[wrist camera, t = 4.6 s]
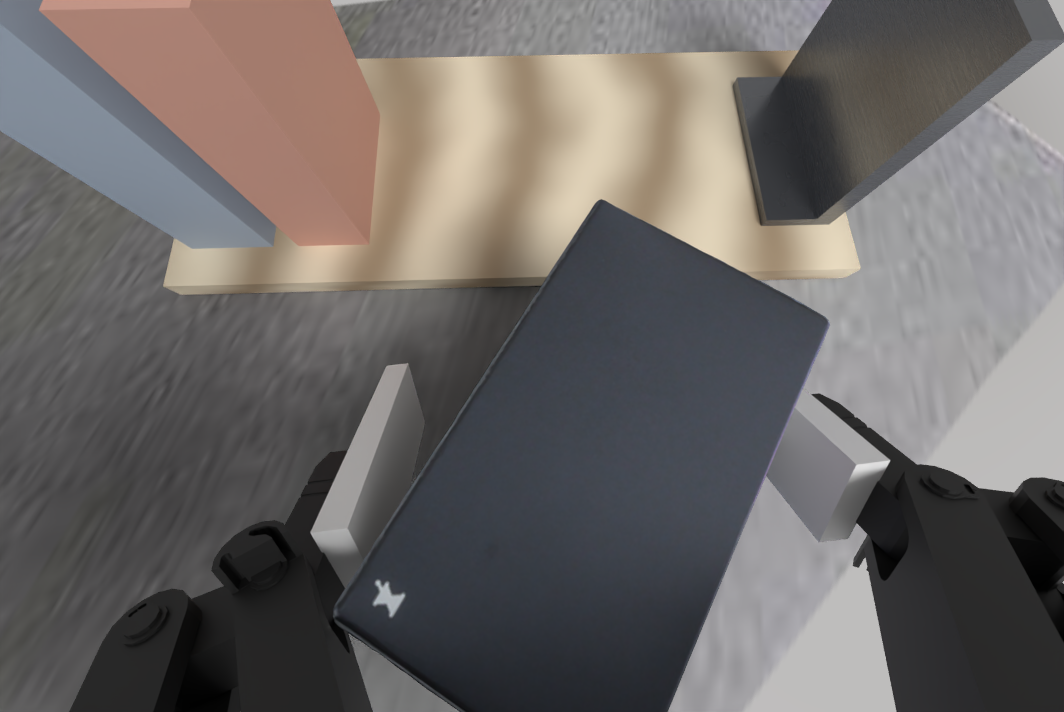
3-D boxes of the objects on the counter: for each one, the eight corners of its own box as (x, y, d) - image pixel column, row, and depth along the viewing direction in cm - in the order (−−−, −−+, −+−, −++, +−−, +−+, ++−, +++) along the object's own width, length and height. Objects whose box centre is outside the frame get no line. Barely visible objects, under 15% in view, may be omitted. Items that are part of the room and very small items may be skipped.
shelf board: (181, 294, 20) (163, 286, 19) (227, 78, 23) (214, 61, 22) (844, 277, 20) (860, 268, 19) (790, 67, 24) (802, 50, 23)
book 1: (191, 248, 19) (-329, -72, 8) (219, 117, 21) (-156, -293, 10) (273, 246, 19) (-121, -75, 8) (293, 116, 21) (7, -295, 10)
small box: (568, 610, 16) (632, 871, 6) (439, 524, 17) (302, 623, 7) (677, 394, 18) (856, 317, 8) (559, 327, 19) (590, 183, 9)
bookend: (761, 226, 20) (944, 41, 11) (732, 85, 22) (865, -160, 13) (829, 224, 20) (1067, 39, 11) (793, 84, 22) (967, -161, 13)
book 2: (298, 246, 19) (38, 9, 9) (316, 115, 21) (120, -197, 11) (369, 244, 19) (189, 7, 9) (380, 114, 21) (242, -199, 11)
